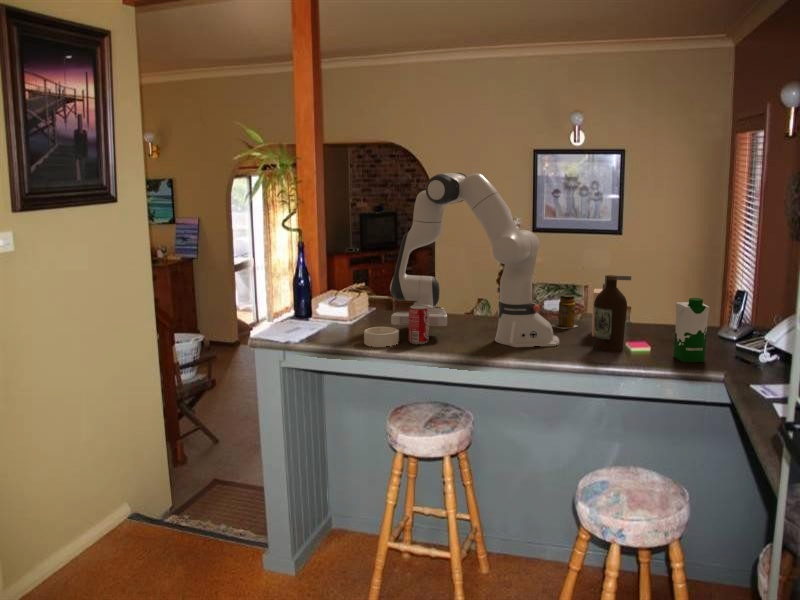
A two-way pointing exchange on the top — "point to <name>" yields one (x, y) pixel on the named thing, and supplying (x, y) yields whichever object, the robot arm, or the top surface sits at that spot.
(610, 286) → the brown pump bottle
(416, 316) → the soda can
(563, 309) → the condiment
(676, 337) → the milk carton
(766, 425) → the top surface
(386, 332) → the bowl
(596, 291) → the soap dispenser
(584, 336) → the top surface
